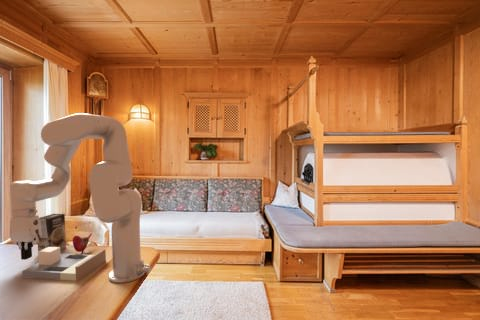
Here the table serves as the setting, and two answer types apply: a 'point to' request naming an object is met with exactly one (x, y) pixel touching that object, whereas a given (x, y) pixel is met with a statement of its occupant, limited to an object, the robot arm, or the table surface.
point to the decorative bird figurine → (80, 243)
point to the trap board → (67, 267)
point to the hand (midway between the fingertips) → (26, 258)
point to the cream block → (49, 255)
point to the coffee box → (52, 231)
